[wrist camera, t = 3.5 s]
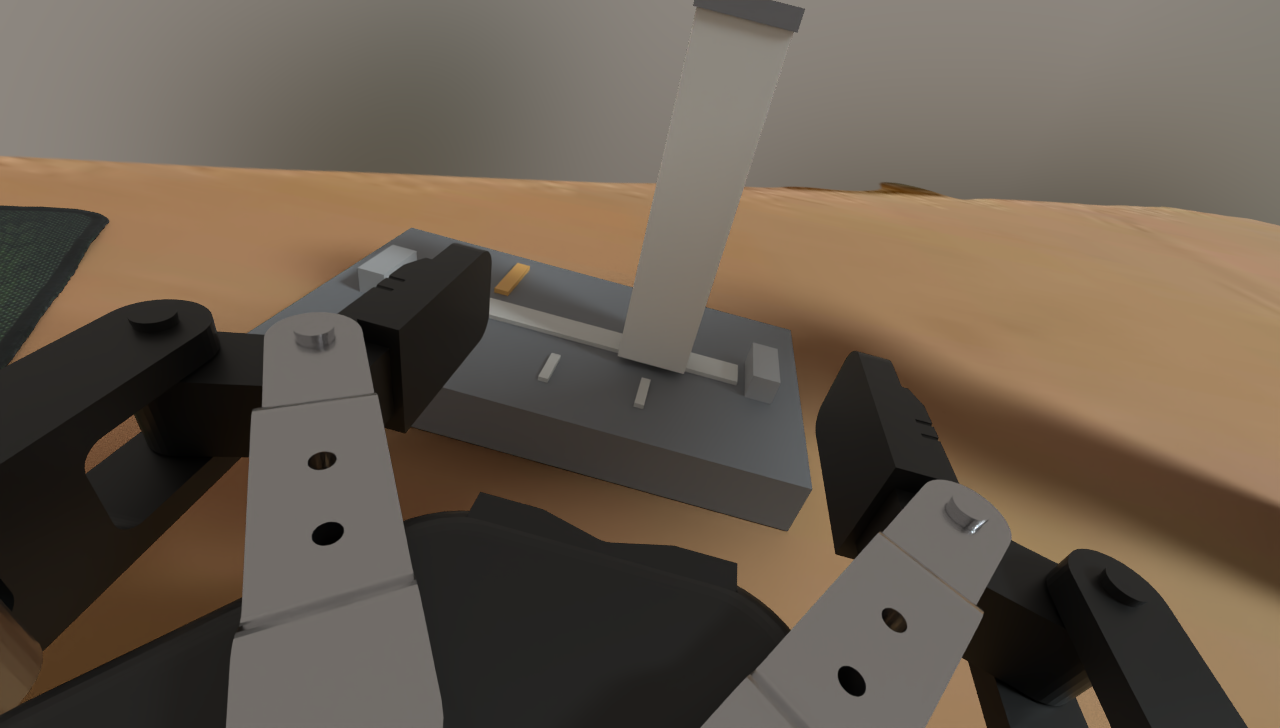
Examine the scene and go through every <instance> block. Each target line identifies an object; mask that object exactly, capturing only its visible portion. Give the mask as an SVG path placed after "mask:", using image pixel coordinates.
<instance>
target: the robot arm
mask: <svg viewBox="0 0 1280 728" xmlns="http://www.w3.org/2000/svg"><path fill="white" fill-rule="evenodd" d="M491 269H492V258H491V254H490V253H489V252H488V251H485V250H481V249H478V248H474V247H470V246H467V245H463V244H459V243H452V244H451V245H450V246H448V247H447V248H446V249H444V250H443V251H442V252H441V253H439V254H438V255H437V256H436V257H434V258H433V259H429V258H423V259H420V260H416V261H413V262H410V263H407V264H404V265H402V266H401V267H400V268H398V269H397V270H396V271H394V272H393V273H392V274H390V275H389V278H385V279H383V280H382V281H381V282H379V283H378V284H377V286H376V287H373V288H371V289H370V290H369V291H367V292H366V293H364V294H363V295H362V296H360V297H359V298H358V299H356V300H355V301H354V302H352V303H351V304H350V305H348V306H347V307H346V308H344V309H343V310H341V311H340V312H339V313H337V314H335V313H328V312H311V313H303V314H298V315H294V316H290V317H287V318H285V319H282V320H280V321H278V322H277V323H275V324H274V325H272V326H271V327H270V328H269V329H268V330H267V332H266V333H265V335H261V334H246V333H231V332H217V330H216V327H215V324H214V320H213V317H212V314H211V312H210V311H209V309H207V308H206V307H204V306H202V305H200V304H198V303H194V302H190V301H185V300H172V299H164V300H152V301H145V302H139V303H135V304H131V305H127V306H124V307H122V308H119V309H116V310H114V311H112V312H110V313H108V314H106V315H104V316H102V317H100V318H98V319H96V320H95V321H93V322H91V323H89V324H87V325H85V326H83V327H81V328H79V329H77V330H75V331H73V332H71V333H70V334H68V335H66V336H64V337H62V338H60V339H58V340H56V341H54V342H52V343H50V344H48V345H47V346H45V347H43V348H41V349H39V350H37V351H35V352H33V353H31V354H29V355H27V356H25V357H23V358H22V359H20V360H18V361H16V362H14V363H12V364H10V365H8V366H6V367H4V368H2V369H0V728H925V727H926V725H927V723H928V721H929V719H930V717H931V715H932V714H933V712H934V710H935V708H936V706H937V704H938V702H939V700H940V698H941V696H942V694H943V692H944V691H945V689H946V687H947V685H948V683H949V681H950V679H951V677H952V675H953V673H954V671H955V669H956V667H957V666H958V664H959V662H960V660H961V658H963V659H965V660H967V661H968V663H969V666H970V670H971V673H972V677H973V680H974V684H975V687H976V691H977V694H978V698H979V701H980V705H981V708H982V712H983V715H984V719H985V722H986V726H987V728H1088V725H1087V723H1086V721H1085V718H1084V716H1083V714H1082V711H1081V709H1080V707H1079V704H1078V702H1077V700H1076V697H1077V696H1078V695H1080V694H1081V693H1083V692H1084V691H1086V690H1087V689H1089V688H1090V687H1092V686H1093V688H1094V691H1095V693H1096V695H1097V697H1098V699H1099V701H1100V704H1101V706H1102V708H1103V710H1104V712H1105V714H1106V717H1107V719H1108V721H1109V723H1110V726H1111V728H1248V727H1247V726H1246V724H1245V722H1244V721H1243V719H1242V718H1241V716H1240V715H1239V713H1238V712H1237V710H1236V709H1235V707H1234V706H1233V704H1232V703H1231V701H1230V700H1229V698H1228V697H1227V695H1226V693H1225V692H1224V690H1223V689H1222V687H1221V686H1220V684H1219V683H1218V681H1217V680H1216V678H1215V677H1214V675H1213V674H1212V672H1211V671H1210V669H1209V667H1208V666H1207V664H1206V663H1205V661H1204V660H1203V658H1202V657H1201V655H1200V654H1199V652H1198V651H1197V649H1196V648H1195V646H1194V645H1193V643H1192V642H1191V640H1190V638H1189V637H1188V635H1187V634H1186V632H1185V631H1184V629H1183V628H1182V626H1181V625H1180V623H1179V622H1178V620H1177V619H1176V617H1175V616H1174V614H1173V612H1172V611H1171V609H1170V608H1169V606H1168V605H1167V604H1166V602H1165V601H1164V599H1163V598H1162V597H1161V596H1160V595H1159V593H1158V592H1157V591H1156V590H1155V589H1154V588H1153V587H1152V586H1151V585H1150V584H1149V583H1148V582H1147V581H1146V580H1144V579H1143V578H1142V577H1141V576H1140V575H1138V574H1137V573H1136V572H1134V571H1133V570H1132V569H1130V568H1129V567H1127V566H1126V565H1124V564H1123V563H1121V562H1119V561H1117V560H1116V559H1114V558H1112V557H1110V556H1107V555H1105V554H1103V553H1100V552H1097V551H1093V550H1089V549H1077V550H1074V551H1072V552H1071V553H1070V554H1069V555H1068V556H1067V557H1066V558H1065V559H1064V560H1062V561H1061V562H1060V563H1059V564H1057V563H1055V562H1053V561H1051V560H1049V559H1047V558H1045V557H1043V556H1041V555H1039V554H1037V553H1035V552H1033V551H1031V550H1029V549H1027V548H1025V547H1023V546H1021V545H1019V544H1017V543H1016V542H1014V541H1012V540H1011V531H1010V528H1009V526H1008V524H1007V522H1006V520H1005V519H1004V517H1003V516H1002V515H1001V513H1000V512H999V511H998V510H997V509H996V508H995V507H994V506H993V505H992V504H991V503H990V502H989V501H987V500H986V499H985V498H984V497H982V496H981V495H979V494H978V493H976V492H975V491H973V490H971V489H969V488H967V487H965V486H963V485H961V484H959V482H958V480H957V478H956V476H955V473H954V471H953V469H952V467H951V464H950V462H949V460H948V458H947V456H946V453H945V451H944V449H943V447H942V444H941V442H939V441H938V435H937V433H936V431H935V429H934V427H931V425H932V422H931V420H930V418H929V415H928V413H927V411H926V409H925V407H924V405H923V404H922V403H921V402H920V401H919V400H918V399H917V398H916V397H915V396H914V395H913V394H912V392H911V391H910V390H909V389H907V388H904V387H902V386H901V384H900V382H899V379H898V377H897V374H896V372H895V369H894V367H893V365H892V363H891V361H890V360H887V359H884V358H880V357H876V356H872V355H869V354H865V353H861V352H857V351H853V352H851V353H850V354H849V355H848V357H847V358H846V360H845V362H844V364H843V365H842V367H841V369H840V371H839V373H838V375H837V377H836V379H835V381H834V382H833V384H832V386H831V388H830V390H829V392H828V394H827V396H826V398H825V399H824V401H823V403H822V405H821V407H820V410H819V413H818V416H817V421H816V438H817V444H818V450H819V456H820V463H821V469H822V475H823V481H824V487H825V493H826V499H827V505H828V512H829V518H830V524H831V530H832V536H833V542H834V548H835V554H837V555H840V556H844V557H847V558H851V559H854V560H853V562H852V563H851V564H850V565H849V566H848V567H847V568H846V569H845V571H844V572H843V573H842V574H841V575H840V576H839V577H838V578H837V579H836V581H835V582H834V583H833V584H832V585H831V586H830V587H829V588H828V590H827V591H826V592H825V593H824V594H823V595H822V596H821V597H820V598H819V600H818V601H817V602H816V603H815V604H814V605H813V606H812V607H811V608H810V610H809V611H808V612H807V613H806V614H805V615H804V616H803V617H802V619H801V620H800V621H799V622H798V623H797V624H796V625H795V626H794V627H793V629H792V630H790V629H789V627H788V626H787V625H786V624H785V623H784V622H783V621H782V620H781V619H780V618H779V617H778V616H777V615H776V614H775V613H774V612H773V611H772V610H771V609H770V608H769V607H767V606H766V605H765V604H764V603H762V602H761V601H760V600H759V599H757V598H756V597H754V596H753V595H751V594H750V593H748V592H747V591H746V590H744V589H742V588H740V587H739V586H737V563H734V562H730V561H727V560H723V559H720V558H716V557H712V556H709V555H705V554H702V553H698V552H694V551H691V550H687V549H684V548H680V547H677V546H669V545H649V544H628V543H610V542H605V541H601V540H599V539H597V538H595V537H593V536H591V535H590V534H588V533H586V532H584V531H582V530H580V529H578V528H577V527H575V526H573V525H571V524H569V523H567V522H566V521H564V520H562V519H560V518H558V517H556V516H554V515H553V514H551V513H549V512H547V511H545V510H543V509H540V508H536V507H533V506H529V505H526V504H522V503H518V502H515V501H511V500H508V499H504V498H500V497H497V496H493V495H490V494H486V493H482V492H480V493H479V495H478V497H477V499H476V501H475V502H474V504H473V506H472V508H471V510H470V511H447V512H439V513H432V514H426V515H422V516H418V517H415V518H411V519H408V520H405V521H403V519H402V514H401V509H400V504H399V499H398V494H397V489H396V484H395V479H394V474H393V469H392V464H391V459H390V454H389V449H388V444H387V439H386V434H385V429H384V428H387V429H391V430H395V431H398V432H402V433H406V432H407V431H408V429H409V428H410V427H411V426H412V424H413V423H414V422H415V421H416V420H417V418H418V417H419V416H420V415H421V413H422V412H423V411H424V410H425V408H426V407H427V406H428V405H429V403H430V402H431V401H432V400H433V399H434V397H435V396H436V395H437V394H438V392H439V391H440V390H441V389H442V387H443V386H444V385H445V384H446V382H447V381H448V380H449V379H450V377H451V376H452V375H453V374H454V373H455V371H456V370H457V369H458V368H459V366H460V365H461V364H462V363H463V361H464V360H465V359H466V358H467V356H468V355H469V354H470V353H471V351H472V350H473V349H474V348H475V347H476V345H477V344H478V343H479V342H480V340H481V339H482V337H483V335H484V333H485V330H486V327H487V323H488V319H489V307H490V288H491ZM132 415H134V416H135V418H136V420H137V422H138V425H139V427H140V429H141V432H140V433H139V434H137V435H136V436H135V437H134V438H132V439H131V440H130V441H128V442H127V443H126V444H124V445H123V446H122V447H120V448H119V449H118V450H116V451H115V452H114V453H112V454H111V455H110V456H109V457H107V458H106V459H105V460H103V461H102V462H101V463H99V464H98V465H97V466H95V467H94V468H93V469H91V470H90V471H89V472H87V473H86V474H85V469H84V467H85V460H86V457H87V455H88V453H89V451H90V449H91V448H92V447H93V445H94V444H95V443H96V442H97V441H98V440H99V439H100V438H102V437H103V436H104V435H106V434H107V433H109V432H110V431H111V430H113V429H114V428H115V427H117V426H118V425H120V424H121V423H122V422H124V421H125V420H127V419H128V418H129V417H131V416H132ZM241 457H249V472H248V492H247V513H246V533H245V553H244V574H243V594H242V598H240V599H238V600H236V601H234V602H231V603H229V604H227V605H225V606H223V607H221V608H219V609H217V610H215V611H213V612H211V613H209V614H207V615H205V616H203V617H200V618H198V619H196V620H194V621H192V622H190V623H188V624H186V625H184V626H182V627H180V628H178V629H176V630H174V631H171V632H169V633H167V634H165V635H163V636H161V637H159V638H157V639H155V640H153V641H151V642H149V643H147V644H145V645H143V646H140V647H138V648H136V649H134V650H132V651H130V652H128V653H126V654H124V655H122V656H120V657H118V658H116V659H113V660H111V661H109V662H107V663H105V664H103V665H101V666H99V667H97V668H95V669H93V670H91V671H89V672H87V673H84V674H82V675H80V676H78V677H76V678H74V679H72V680H70V681H68V682H66V683H64V684H62V685H60V686H57V687H55V688H53V689H51V690H49V691H47V692H45V693H43V694H41V695H39V696H37V697H35V698H33V699H30V700H28V701H26V702H24V703H21V701H22V699H23V698H24V697H25V696H26V694H27V693H28V692H29V691H30V689H31V688H32V686H33V684H34V683H35V681H36V679H37V677H38V675H39V672H40V670H41V666H42V662H43V651H44V650H45V649H46V648H47V647H48V646H49V645H50V644H51V643H52V642H53V641H54V640H55V639H56V638H57V637H58V636H59V635H60V634H61V633H62V632H63V631H64V630H65V629H66V628H67V627H68V626H69V625H70V624H71V623H72V622H73V621H74V620H75V619H76V618H77V617H78V616H79V615H80V614H81V613H83V612H84V611H85V610H86V609H87V608H88V607H89V606H90V605H91V604H92V603H93V602H94V601H95V600H96V599H97V598H98V597H99V596H100V595H101V594H102V593H103V592H104V591H105V590H106V589H107V588H108V587H109V586H110V585H111V584H112V583H113V582H114V581H115V580H116V579H117V578H118V577H119V576H120V575H121V574H122V573H123V572H124V571H125V570H127V569H128V568H129V567H130V566H131V565H132V564H133V563H134V562H135V561H136V560H137V559H138V558H139V557H140V556H141V555H142V554H143V553H144V552H145V551H146V550H147V549H148V548H149V547H150V546H151V545H152V544H153V543H154V542H155V541H156V540H157V539H158V538H159V537H160V536H161V535H162V534H163V533H164V532H165V531H166V530H167V529H168V528H170V527H171V526H172V525H173V524H174V523H175V522H176V521H177V520H178V519H179V518H180V517H181V516H182V515H183V514H184V513H185V512H186V511H187V510H188V509H189V508H190V507H191V506H192V505H193V504H194V503H195V502H196V501H197V500H198V499H199V498H200V497H201V496H202V495H203V494H204V493H205V492H206V491H207V490H208V489H209V488H210V487H211V486H213V485H214V484H215V483H216V482H217V481H218V480H219V479H220V478H221V477H222V476H223V475H224V474H225V473H226V472H227V471H228V470H229V469H230V468H231V467H232V466H233V465H234V464H235V463H236V462H237V461H238V460H239V459H240V458H241Z"/></svg>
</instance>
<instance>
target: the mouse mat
mask: <svg viewBox="0 0 1280 728" xmlns="http://www.w3.org/2000/svg"><path fill="white" fill-rule="evenodd" d="M108 223H109V220H108V219H107V218H106V217H105V216H103V215H101V214H99V213H95V212H90V211H85V210H78V209H68V208H52V207H19V206H0V369H2V368H4V367H6V366H7V365H8V363H9V362H10V361H11V360H12V359H13V358H14V356H15V354H16V353H17V351H18V350H19V349H20V348H21V346H22V344H23V343H24V342H25V341H26V339H27V338H28V337H29V335H30V334H31V332H32V331H33V330H34V328H35V326H36V324H37V323H38V321H39V319H40V318H41V317H42V316H43V315H44V313H45V312H46V310H47V309H48V307H49V306H50V305H51V304H52V302H53V301H54V299H55V298H56V297H58V295H59V293H61V292H62V290H63V289H64V287H65V285H67V282H68V281H69V280H70V277H71V276H73V275H74V273H75V270H76V269H77V268H78V264H79V263H80V261H81V260H82V258H83V257H84V253H85V252H86V251H87V249H88V248H89V245H90V244H91V242H92V241H93V240H94V239H96V237H97V236H98V235H99V233H100V232H101V231H102V229H103V228H104V227H105V225H106V224H108Z"/></svg>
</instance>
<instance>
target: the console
mask: <svg viewBox="0 0 1280 728" xmlns="http://www.w3.org/2000/svg"><path fill="white" fill-rule="evenodd" d="M452 243H459V244H463V245H467V246H470V247H474V248H478V249H481V250H485V251H488V252H489V253H490V254H491V258H492V269H491V288H490V307H489V319H488V323H487V327H486V330H485V333H484V335H483V337H482V339H481V340H480V342H479V343H478V344H477V345H476V347H475V348H474V349H473V350H472V351H471V353H470V354H469V355H468V356H467V358H466V359H465V360H464V361H463V363H462V364H461V365H460V366H459V368H458V369H457V370H456V371H455V373H454V374H453V375H452V376H451V377H450V379H449V380H448V381H447V382H446V384H445V385H444V386H443V387H442V389H441V390H440V391H439V392H438V394H437V395H436V396H435V397H434V399H433V400H432V401H431V402H430V403H429V405H428V406H427V407H426V408H425V410H424V411H423V412H422V413H421V415H420V416H419V417H418V418H417V420H416V421H415V422H414V423H413V424H412V426H411V427H414V428H418V429H422V430H425V431H429V432H432V433H436V434H440V435H443V436H447V437H450V438H454V439H457V440H461V441H465V442H468V443H472V444H475V445H479V446H483V447H486V448H490V449H493V450H497V451H501V452H504V453H508V454H511V455H515V456H519V457H522V458H526V459H529V460H533V461H537V462H540V463H544V464H547V465H551V466H555V467H558V468H562V469H565V470H569V471H573V472H576V473H580V474H583V475H587V476H591V477H594V478H598V479H601V480H605V481H609V482H612V483H616V484H619V485H623V486H627V487H630V488H634V489H637V490H641V491H645V492H648V493H652V494H655V495H659V496H662V497H666V498H670V499H673V500H677V501H680V502H684V503H688V504H691V505H695V506H698V507H702V508H706V509H709V510H713V511H716V512H720V513H724V514H727V515H731V516H734V517H738V518H742V519H745V520H749V521H752V522H756V523H760V524H763V525H767V526H770V527H774V528H778V529H781V530H785V531H788V530H789V528H790V526H791V525H792V523H793V521H794V520H795V518H796V516H797V514H798V513H799V511H800V509H801V508H802V506H803V504H804V502H805V501H806V499H807V497H808V496H809V494H810V492H811V491H812V484H811V477H810V470H809V462H808V455H807V448H806V440H805V433H804V426H803V418H802V411H801V404H800V396H799V389H798V382H797V374H796V367H795V360H794V352H793V345H792V337H791V330H788V329H784V328H781V327H777V326H773V325H769V324H766V323H762V322H758V321H755V320H751V319H747V318H744V317H740V316H736V315H732V314H729V313H725V312H721V311H718V310H714V309H710V308H707V307H705V310H704V313H703V316H702V319H701V322H700V325H699V328H698V332H697V335H696V338H695V341H694V344H693V347H692V350H691V353H690V357H689V360H688V363H687V366H686V369H685V372H684V374H681V373H678V372H674V371H670V370H667V369H663V368H659V367H656V366H652V365H648V364H645V363H641V362H638V361H634V360H630V359H627V358H623V357H619V356H618V352H619V348H620V343H621V339H622V335H623V330H624V326H625V321H626V317H627V312H628V308H629V304H630V299H631V295H632V290H633V287H629V286H625V285H621V284H618V283H614V282H610V281H607V280H603V279H599V278H596V277H592V276H588V275H584V274H581V273H577V272H573V271H570V270H566V269H562V268H559V267H555V266H551V265H547V264H544V263H540V262H536V261H533V260H529V259H525V258H522V257H518V256H514V255H510V254H507V253H503V252H499V251H496V250H492V249H488V248H485V247H481V246H477V245H473V244H470V243H466V242H462V241H459V240H455V239H451V238H448V237H444V236H440V235H437V234H433V233H429V232H425V231H422V230H418V229H414V228H410V229H409V230H407V231H405V232H404V233H402V234H401V235H399V236H398V237H396V238H395V239H393V240H391V241H390V242H388V243H387V244H385V245H384V246H382V247H381V248H379V249H377V250H376V251H374V252H373V253H371V254H370V255H368V256H367V257H365V258H363V259H362V260H360V261H359V262H357V263H356V264H354V265H353V266H351V267H349V268H348V269H346V270H345V271H343V272H342V273H340V274H339V275H337V276H335V277H334V278H332V279H331V280H329V281H328V282H326V283H325V284H323V285H321V286H320V287H318V288H317V289H315V290H314V291H312V292H310V293H309V294H307V295H306V296H304V297H303V298H301V299H300V300H298V301H296V302H295V303H293V304H292V305H290V306H289V307H287V308H286V309H284V310H282V311H281V312H279V313H278V314H276V315H275V316H273V317H272V318H270V319H268V320H267V321H265V322H264V323H262V324H261V325H259V326H258V327H256V328H254V329H253V330H251V331H250V332H248V333H247V334H261V335H265V333H266V332H267V330H268V329H269V328H270V327H271V326H272V325H274V324H275V323H277V322H278V321H280V320H282V319H285V318H287V317H290V316H294V315H298V314H303V313H311V312H328V313H335V314H337V313H339V312H340V311H341V310H343V309H344V308H346V307H347V306H348V305H350V304H351V303H352V302H354V301H355V300H356V299H358V298H359V297H360V296H362V295H363V294H364V293H366V292H367V291H369V290H370V289H371V288H373V287H376V286H377V284H378V283H379V282H381V281H382V280H383V279H385V278H389V275H390V274H392V273H393V272H394V271H396V270H397V269H398V268H400V267H401V266H402V265H404V264H407V263H410V262H413V261H416V260H420V259H423V258H429V259H433V258H434V257H436V256H437V255H438V254H439V253H441V252H442V251H443V250H444V249H446V248H447V247H448V246H450V245H451V244H452Z"/></svg>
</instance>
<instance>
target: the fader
mask: <svg viewBox="0 0 1280 728" xmlns="http://www.w3.org/2000/svg"><path fill="white" fill-rule="evenodd" d="M693 6H696V7H697V8H696V12H695V17H694V21H693V25H692V30H691V34H690V39H689V43H688V47H687V52H686V56H685V61H684V65H683V70H682V74H681V78H680V83H679V88H678V91H677V96H676V100H675V105H674V109H673V114H672V118H671V123H670V127H669V132H668V136H667V140H666V145H665V149H664V153H663V158H662V162H661V167H660V171H659V176H658V180H657V184H656V189H655V193H654V198H653V202H652V206H651V211H650V215H649V220H648V224H647V228H646V233H645V237H644V242H643V246H642V251H641V255H640V259H639V264H638V268H637V273H636V277H635V282H634V286H633V290H632V295H631V299H630V304H629V308H628V312H627V317H626V321H625V326H624V330H623V335H622V339H621V343H620V348H619V352H618V356H619V357H623V358H627V359H630V360H634V361H638V362H641V363H645V364H648V365H652V366H656V367H659V368H663V369H667V370H670V371H674V372H678V373H681V374H684V372H685V369H686V366H687V363H688V360H689V357H690V353H691V350H692V347H693V344H694V341H695V338H696V335H697V332H698V328H699V325H700V322H701V319H702V316H703V313H704V310H705V307H706V304H707V300H708V297H709V294H710V291H711V288H712V285H713V282H714V279H715V276H716V272H717V269H718V266H719V263H720V260H721V257H722V254H723V251H724V248H725V244H726V241H727V238H728V235H729V232H730V229H731V226H732V223H733V219H734V216H735V213H736V210H737V207H738V204H739V201H740V198H741V195H742V191H743V188H744V185H745V182H746V178H747V176H748V173H749V170H750V166H751V163H752V160H753V157H754V154H755V151H756V148H757V145H758V142H759V139H760V135H761V132H762V129H763V126H764V123H765V120H766V117H767V114H768V110H769V107H770V104H771V101H772V98H773V95H774V92H775V89H776V85H777V82H778V79H779V76H780V73H781V70H782V67H783V64H784V61H785V57H786V54H787V51H788V48H789V45H790V42H791V38H792V36H793V33H794V32H798V29H799V26H800V23H801V20H802V17H803V14H804V10H805V9H803V8H800V7H795V6H792V5H788V4H784V3H780V2H776V1H772V0H694V4H693Z"/></svg>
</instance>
